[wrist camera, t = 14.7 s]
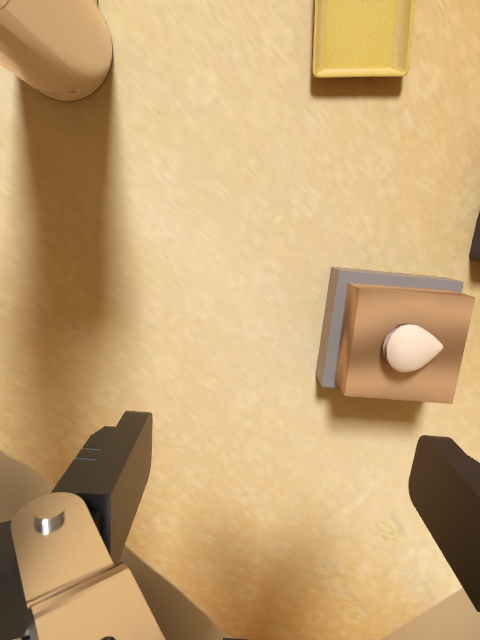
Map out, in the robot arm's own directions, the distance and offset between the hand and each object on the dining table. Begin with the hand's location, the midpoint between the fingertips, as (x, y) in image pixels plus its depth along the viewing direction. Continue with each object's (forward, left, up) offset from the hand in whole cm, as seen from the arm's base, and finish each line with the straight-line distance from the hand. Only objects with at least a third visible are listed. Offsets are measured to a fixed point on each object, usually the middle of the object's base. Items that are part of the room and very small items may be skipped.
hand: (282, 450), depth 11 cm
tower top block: (+2, +14, -27) cm, 30 cm away
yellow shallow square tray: (-25, +7, -31) cm, 40 cm away
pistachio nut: (+2, +14, -23) cm, 27 cm away
